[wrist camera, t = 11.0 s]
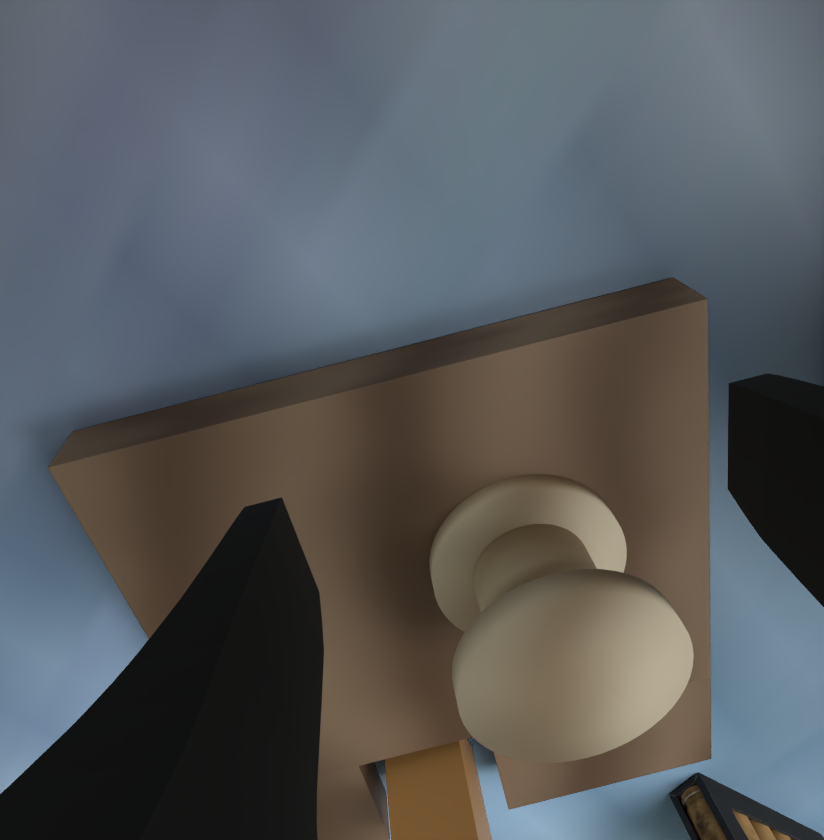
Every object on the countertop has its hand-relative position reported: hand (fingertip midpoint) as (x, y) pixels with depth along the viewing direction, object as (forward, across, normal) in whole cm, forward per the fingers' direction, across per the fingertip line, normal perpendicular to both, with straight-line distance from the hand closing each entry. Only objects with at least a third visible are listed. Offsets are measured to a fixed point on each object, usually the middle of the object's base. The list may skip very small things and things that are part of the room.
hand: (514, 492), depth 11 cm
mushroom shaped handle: (+7, -1, +8) cm, 11 cm away
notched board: (+9, +2, +11) cm, 15 cm away
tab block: (+9, +4, +18) cm, 21 cm away
